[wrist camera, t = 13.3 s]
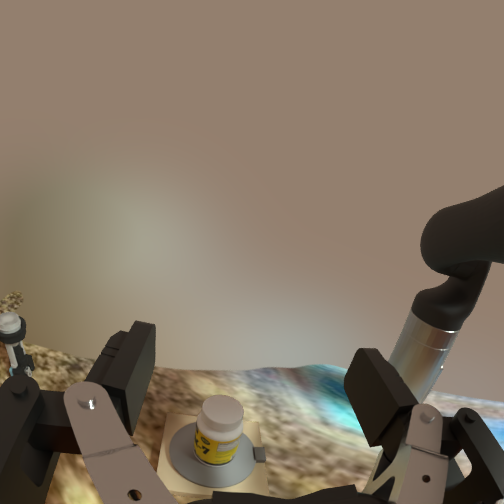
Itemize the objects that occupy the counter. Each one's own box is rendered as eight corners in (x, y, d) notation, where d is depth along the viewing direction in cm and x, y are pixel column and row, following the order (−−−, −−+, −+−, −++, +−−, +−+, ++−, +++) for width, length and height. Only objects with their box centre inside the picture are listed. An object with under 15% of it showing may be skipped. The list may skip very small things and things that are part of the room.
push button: (28, 397, 25) (9, 339, 23) (1, 386, 24) (-20, 329, 21) (43, 368, 31) (30, 313, 29) (17, 360, 30) (3, 305, 27)
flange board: (256, 427, 33) (259, 418, 33) (267, 500, 22) (271, 494, 21) (167, 417, 32) (167, 407, 31) (155, 491, 20) (154, 484, 20)
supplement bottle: (187, 441, 27) (191, 395, 25) (224, 433, 29) (234, 387, 27) (202, 472, 23) (209, 431, 21) (242, 462, 25) (257, 419, 23)
